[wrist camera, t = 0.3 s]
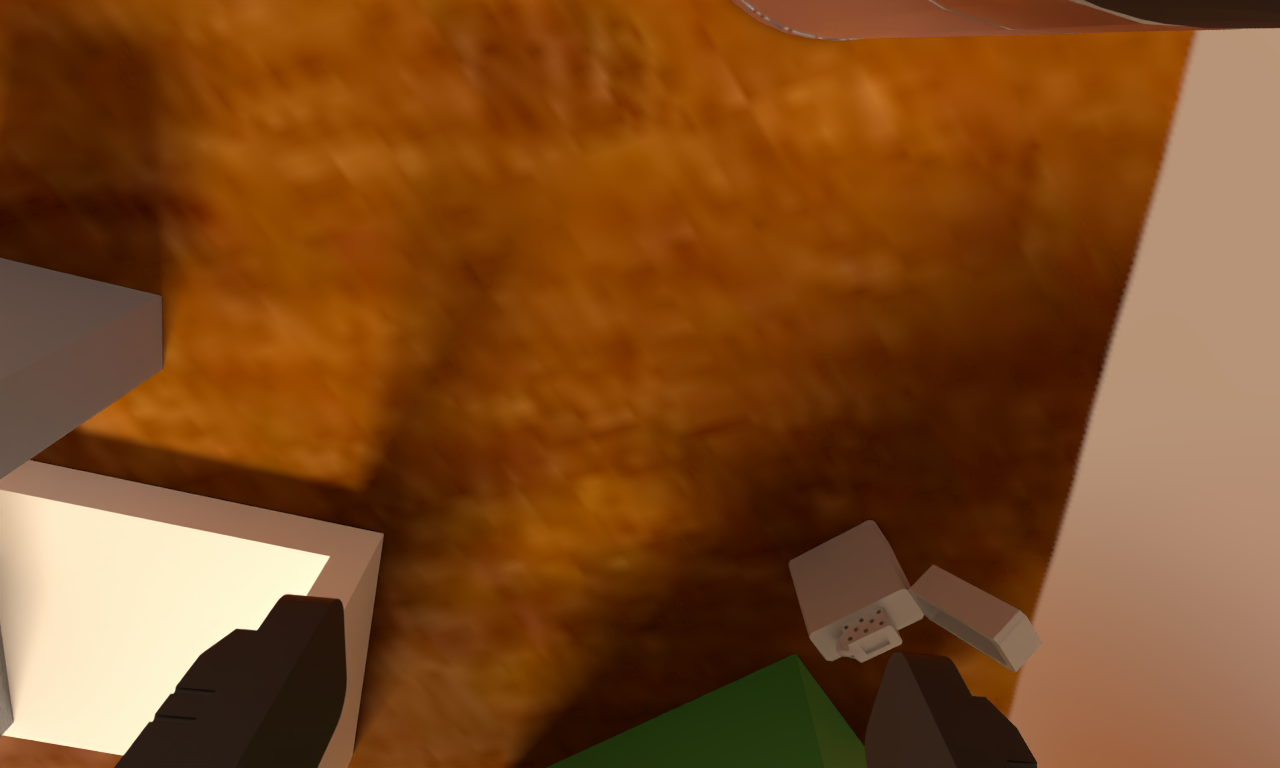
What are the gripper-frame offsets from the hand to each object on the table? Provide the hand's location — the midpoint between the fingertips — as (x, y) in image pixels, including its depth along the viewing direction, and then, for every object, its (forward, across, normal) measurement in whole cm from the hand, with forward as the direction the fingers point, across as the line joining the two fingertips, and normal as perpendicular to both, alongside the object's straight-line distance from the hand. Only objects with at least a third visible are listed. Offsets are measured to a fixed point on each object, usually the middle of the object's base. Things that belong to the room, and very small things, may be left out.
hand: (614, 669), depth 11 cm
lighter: (+18, -11, +9) cm, 23 cm away
